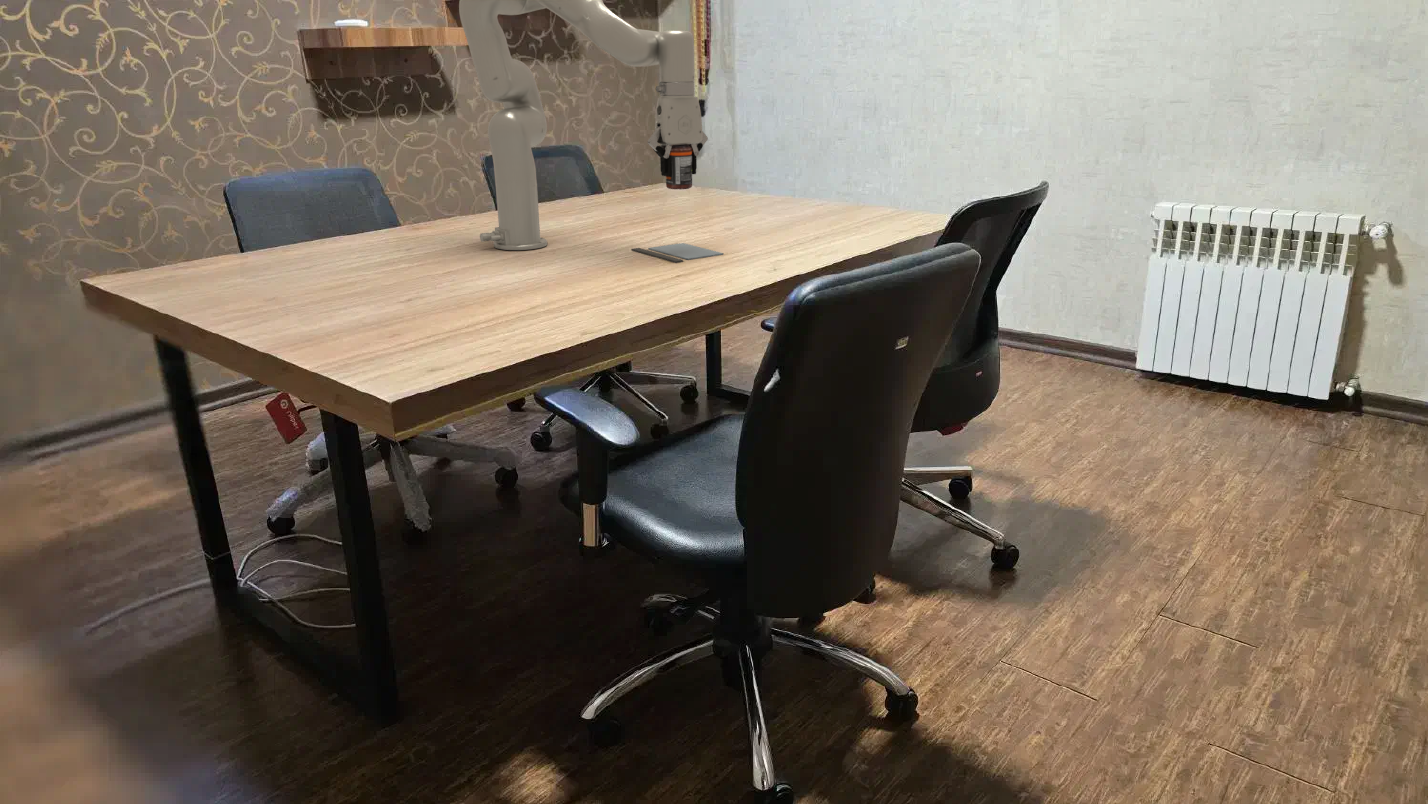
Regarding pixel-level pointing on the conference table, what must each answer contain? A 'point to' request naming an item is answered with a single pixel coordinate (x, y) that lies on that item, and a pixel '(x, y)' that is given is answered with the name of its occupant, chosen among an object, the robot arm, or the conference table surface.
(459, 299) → the conference table surface
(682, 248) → the pad
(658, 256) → the bar
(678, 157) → the supplement bottle
